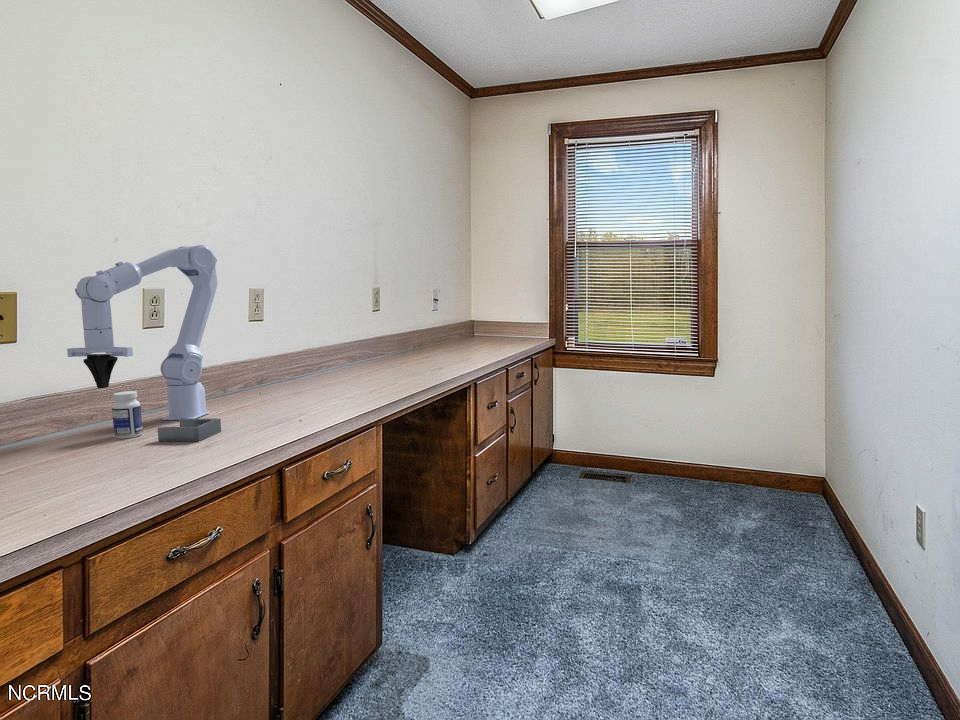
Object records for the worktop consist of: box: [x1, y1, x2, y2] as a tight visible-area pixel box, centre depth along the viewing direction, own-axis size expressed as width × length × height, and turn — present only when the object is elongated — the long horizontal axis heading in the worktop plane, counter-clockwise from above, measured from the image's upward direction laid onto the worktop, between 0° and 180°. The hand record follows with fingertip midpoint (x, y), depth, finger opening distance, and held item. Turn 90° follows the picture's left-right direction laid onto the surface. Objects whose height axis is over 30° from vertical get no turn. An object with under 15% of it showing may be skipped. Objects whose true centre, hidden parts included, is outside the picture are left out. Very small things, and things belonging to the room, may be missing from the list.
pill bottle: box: [111, 390, 144, 440], centre depth 145 cm, size 6×6×10 cm
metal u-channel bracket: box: [157, 418, 222, 443], centre depth 144 cm, size 10×9×3 cm
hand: (103, 387), depth 149 cm, fingers closed
